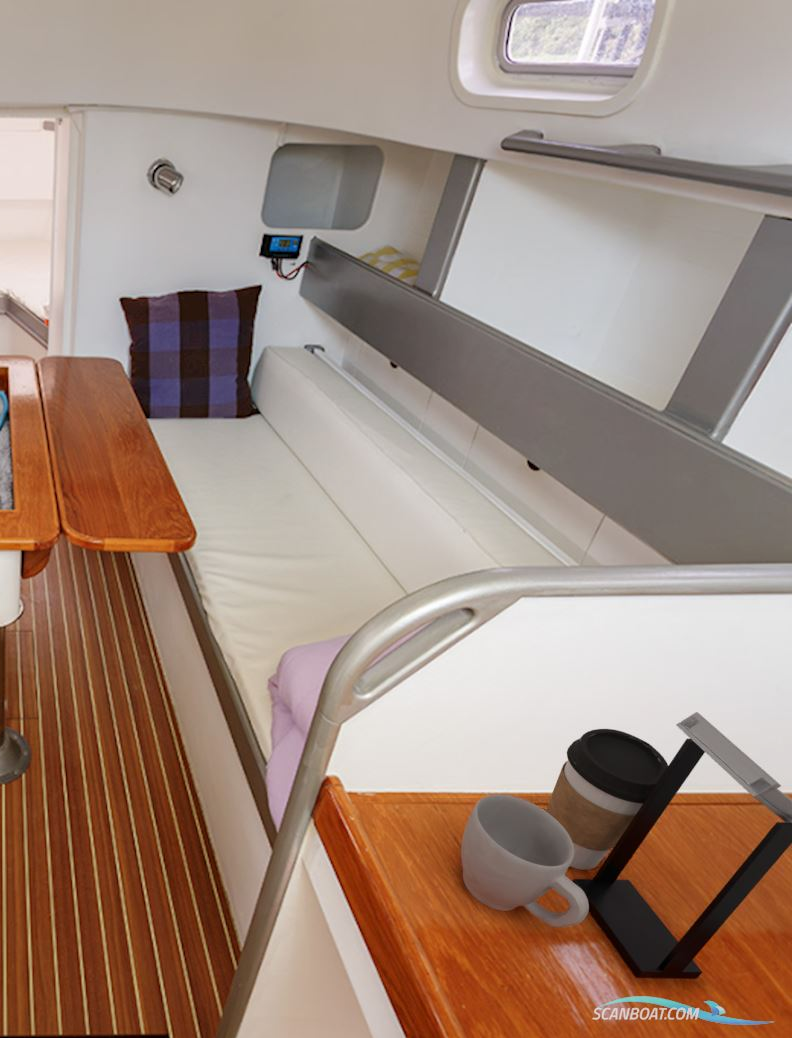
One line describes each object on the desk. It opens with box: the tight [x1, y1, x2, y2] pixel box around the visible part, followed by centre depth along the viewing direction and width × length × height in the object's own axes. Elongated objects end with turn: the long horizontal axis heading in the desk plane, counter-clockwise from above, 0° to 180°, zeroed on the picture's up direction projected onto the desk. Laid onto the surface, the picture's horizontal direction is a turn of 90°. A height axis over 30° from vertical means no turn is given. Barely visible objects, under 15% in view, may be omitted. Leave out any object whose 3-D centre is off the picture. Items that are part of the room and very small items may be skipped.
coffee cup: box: [545, 728, 669, 871], centre depth 80 cm, size 8×8×15 cm
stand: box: [571, 738, 792, 980], centre depth 69 cm, size 6×10×22 cm, turn 0°
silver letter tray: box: [675, 711, 792, 823], centre depth 64 cm, size 10×8×2 cm
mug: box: [460, 793, 589, 928], centre depth 75 cm, size 12×9×10 cm
